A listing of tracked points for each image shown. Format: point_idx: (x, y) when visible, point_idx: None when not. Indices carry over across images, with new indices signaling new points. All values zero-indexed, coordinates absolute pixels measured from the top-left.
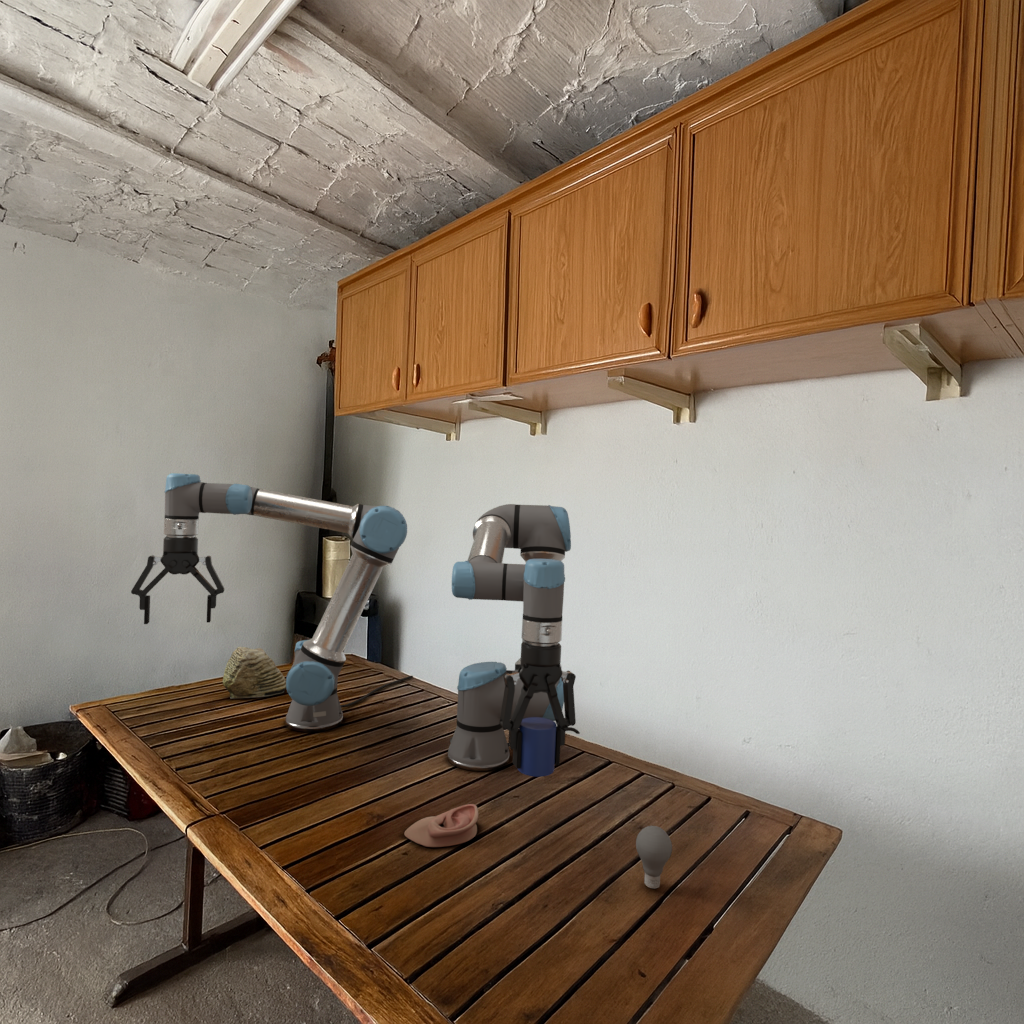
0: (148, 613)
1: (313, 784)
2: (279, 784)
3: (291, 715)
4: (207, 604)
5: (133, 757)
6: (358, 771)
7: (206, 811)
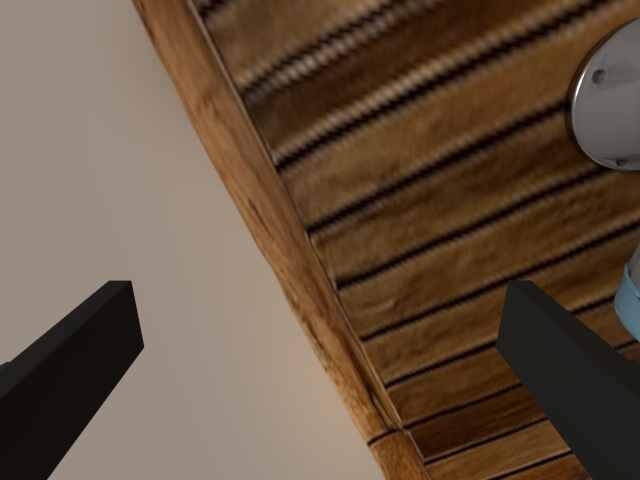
0: (101, 368)
1: None
2: (488, 374)
3: (593, 129)
4: (580, 457)
5: (254, 213)
6: None
7: (387, 420)
